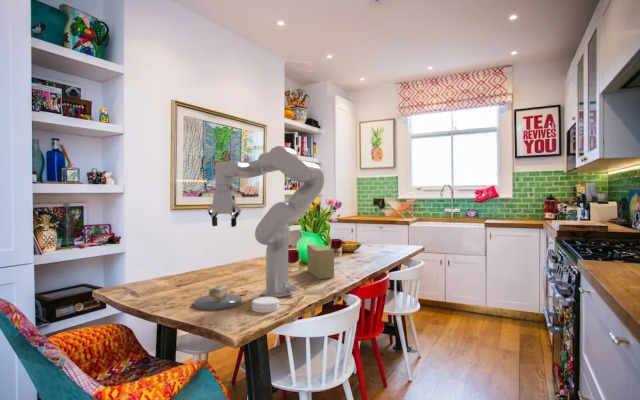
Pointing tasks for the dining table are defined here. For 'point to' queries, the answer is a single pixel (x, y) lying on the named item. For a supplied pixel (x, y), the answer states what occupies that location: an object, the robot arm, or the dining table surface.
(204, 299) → the cake plate
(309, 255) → the cheese
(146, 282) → the dining table surface
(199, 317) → the dining table surface
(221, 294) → the wooden cube
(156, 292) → the dining table surface
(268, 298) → the coaster
